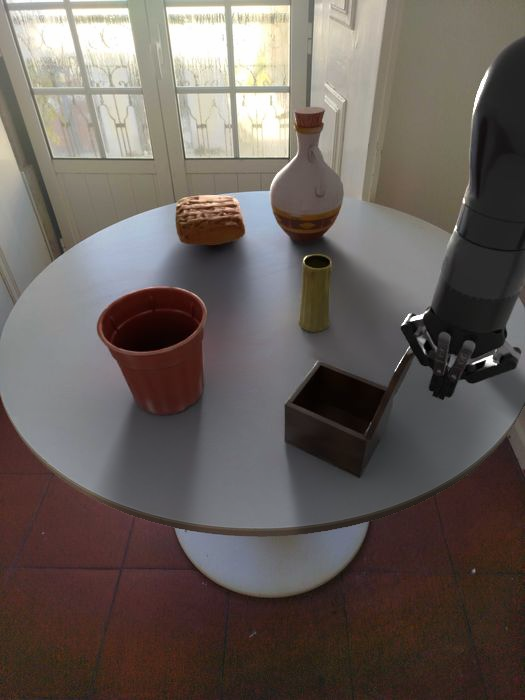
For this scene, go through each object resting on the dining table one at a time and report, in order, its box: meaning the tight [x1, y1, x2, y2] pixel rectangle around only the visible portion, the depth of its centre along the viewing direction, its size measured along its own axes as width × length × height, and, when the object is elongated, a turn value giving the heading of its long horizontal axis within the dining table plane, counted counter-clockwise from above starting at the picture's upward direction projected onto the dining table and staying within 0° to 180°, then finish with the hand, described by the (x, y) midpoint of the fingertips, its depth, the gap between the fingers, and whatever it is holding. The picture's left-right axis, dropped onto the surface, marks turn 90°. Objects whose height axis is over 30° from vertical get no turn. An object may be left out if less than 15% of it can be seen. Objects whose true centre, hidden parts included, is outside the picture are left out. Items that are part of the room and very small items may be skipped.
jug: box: [269, 106, 345, 244], centre depth 110 cm, size 20×18×30 cm
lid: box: [365, 329, 428, 440], centre depth 60 cm, size 13×11×1 cm
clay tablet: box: [174, 194, 246, 246], centre depth 120 cm, size 22×17×8 cm
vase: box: [298, 253, 333, 333], centre depth 89 cm, size 6×6×14 cm
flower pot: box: [96, 286, 208, 416], centre depth 76 cm, size 16×16×16 cm
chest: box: [284, 360, 395, 479], centre depth 70 cm, size 13×11×9 cm
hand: (440, 393), depth 57 cm, fingers closed
